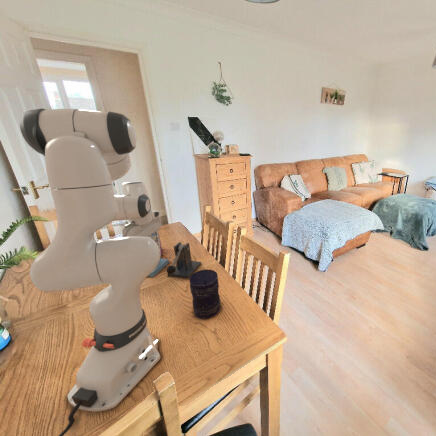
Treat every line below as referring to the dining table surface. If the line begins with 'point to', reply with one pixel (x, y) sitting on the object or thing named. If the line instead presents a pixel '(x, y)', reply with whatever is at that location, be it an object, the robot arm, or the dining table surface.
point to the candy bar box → (157, 239)
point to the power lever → (175, 261)
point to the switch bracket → (184, 263)
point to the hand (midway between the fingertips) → (146, 245)
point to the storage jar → (205, 293)
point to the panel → (159, 267)
